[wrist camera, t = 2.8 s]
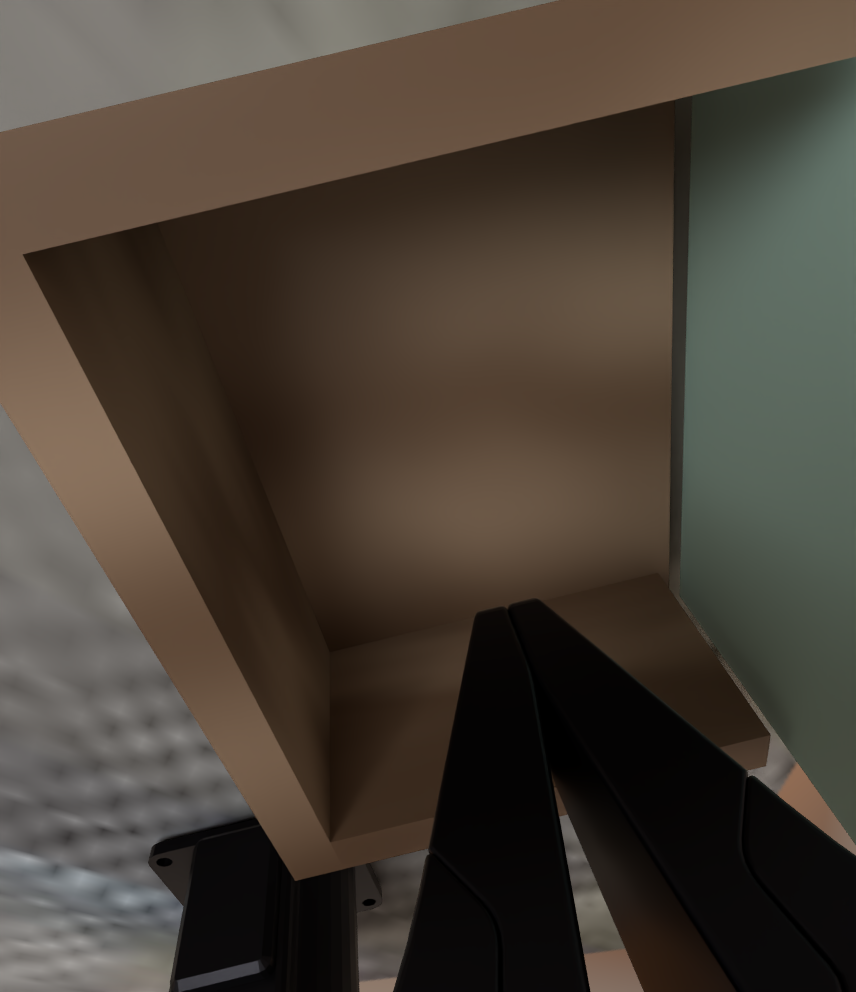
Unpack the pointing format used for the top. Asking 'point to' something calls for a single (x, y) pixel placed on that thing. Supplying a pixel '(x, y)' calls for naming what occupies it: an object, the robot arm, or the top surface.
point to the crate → (379, 379)
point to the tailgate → (777, 406)
